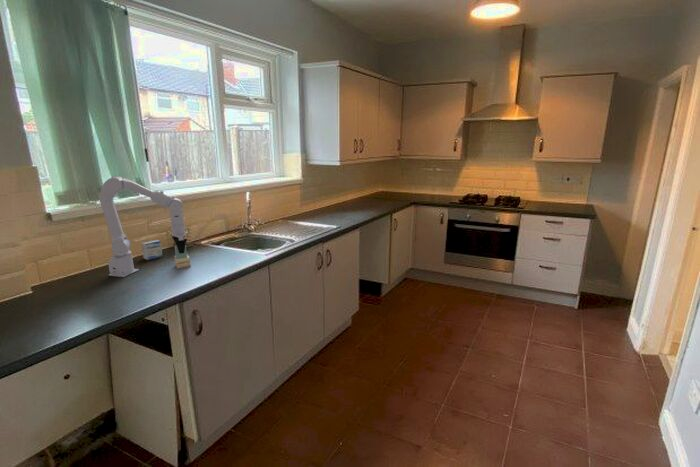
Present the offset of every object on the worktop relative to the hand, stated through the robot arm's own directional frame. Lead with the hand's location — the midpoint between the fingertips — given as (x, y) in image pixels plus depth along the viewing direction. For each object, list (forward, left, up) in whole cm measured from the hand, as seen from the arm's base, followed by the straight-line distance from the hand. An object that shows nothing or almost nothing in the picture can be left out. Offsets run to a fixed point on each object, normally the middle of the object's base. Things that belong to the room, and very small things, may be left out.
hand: (180, 251), depth 179 cm
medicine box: (+8, +23, -8) cm, 26 cm away
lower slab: (0, 0, -8) cm, 8 cm away
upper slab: (0, 0, -5) cm, 5 cm away
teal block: (0, 0, -3) cm, 3 cm away
